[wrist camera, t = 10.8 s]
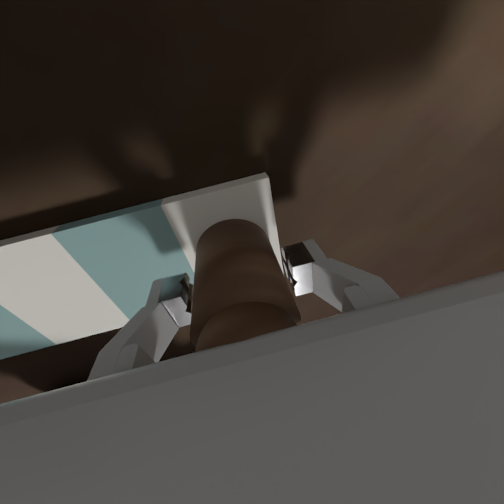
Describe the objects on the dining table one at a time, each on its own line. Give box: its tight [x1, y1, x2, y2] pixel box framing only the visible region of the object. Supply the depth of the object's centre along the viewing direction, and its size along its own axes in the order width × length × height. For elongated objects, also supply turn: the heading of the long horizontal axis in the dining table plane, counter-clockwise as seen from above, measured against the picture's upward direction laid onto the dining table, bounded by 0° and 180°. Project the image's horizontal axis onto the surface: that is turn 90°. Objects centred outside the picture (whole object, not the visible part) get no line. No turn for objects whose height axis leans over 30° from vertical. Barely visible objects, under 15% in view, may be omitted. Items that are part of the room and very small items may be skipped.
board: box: [0, 172, 284, 359], centre depth 12 cm, size 20×7×1 cm, turn 101°
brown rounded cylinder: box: [190, 219, 301, 352], centre depth 9 cm, size 4×4×8 cm
